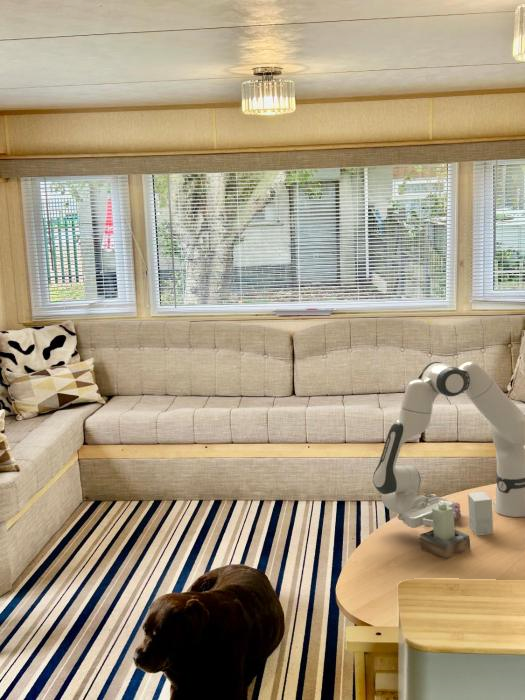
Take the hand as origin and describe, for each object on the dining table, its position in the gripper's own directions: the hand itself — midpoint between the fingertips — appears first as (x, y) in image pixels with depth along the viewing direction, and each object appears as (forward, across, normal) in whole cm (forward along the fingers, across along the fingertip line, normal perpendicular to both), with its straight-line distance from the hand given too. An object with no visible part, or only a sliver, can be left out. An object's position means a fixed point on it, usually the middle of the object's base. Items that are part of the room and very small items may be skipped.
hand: (444, 519), depth 262 cm
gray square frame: (-1, 0, +11) cm, 11 cm away
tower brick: (-1, 0, +7) cm, 7 cm away
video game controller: (-17, +20, +11) cm, 29 cm away
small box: (-3, +20, +11) cm, 23 cm away
